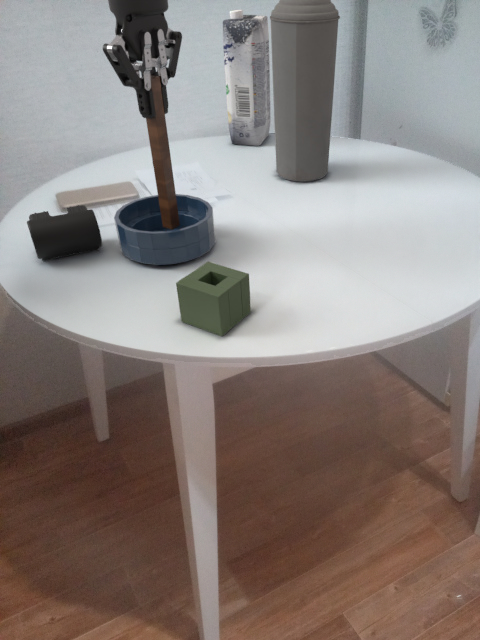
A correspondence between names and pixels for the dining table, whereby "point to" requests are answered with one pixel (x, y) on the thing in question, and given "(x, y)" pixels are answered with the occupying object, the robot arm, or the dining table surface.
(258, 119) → the juice carton
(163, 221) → the stick
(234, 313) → the holder
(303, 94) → the canister
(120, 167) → the dining table surface
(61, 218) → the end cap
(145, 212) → the bowl
